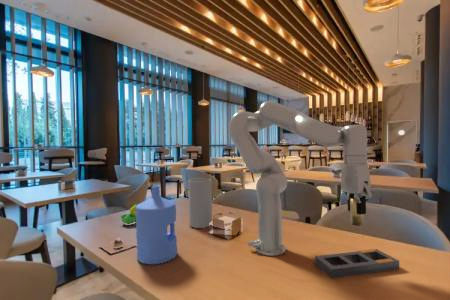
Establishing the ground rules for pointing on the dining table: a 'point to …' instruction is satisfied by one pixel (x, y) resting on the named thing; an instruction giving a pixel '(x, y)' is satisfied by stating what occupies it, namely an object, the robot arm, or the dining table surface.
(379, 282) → the dining table surface
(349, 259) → the grey compartment tray
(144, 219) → the water jug
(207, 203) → the cylinder vase
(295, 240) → the dining table surface
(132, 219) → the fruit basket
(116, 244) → the dessert
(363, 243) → the dining table surface
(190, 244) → the dining table surface
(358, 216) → the brass peg
